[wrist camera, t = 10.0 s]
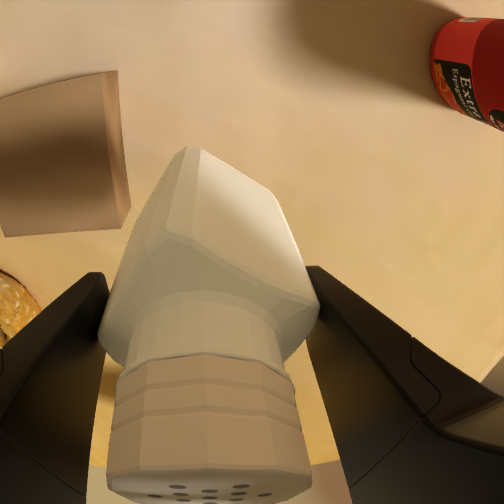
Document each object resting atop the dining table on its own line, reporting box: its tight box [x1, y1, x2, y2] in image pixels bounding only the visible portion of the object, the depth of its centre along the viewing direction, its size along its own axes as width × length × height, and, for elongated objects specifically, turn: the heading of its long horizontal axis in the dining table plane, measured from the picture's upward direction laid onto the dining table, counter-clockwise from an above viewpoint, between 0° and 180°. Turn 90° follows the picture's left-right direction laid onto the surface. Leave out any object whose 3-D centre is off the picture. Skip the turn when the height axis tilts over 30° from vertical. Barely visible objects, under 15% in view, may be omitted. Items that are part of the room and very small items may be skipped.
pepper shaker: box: [98, 147, 320, 504], centre depth 8 cm, size 4×4×10 cm
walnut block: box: [0, 71, 131, 238], centre depth 16 cm, size 9×9×3 cm
